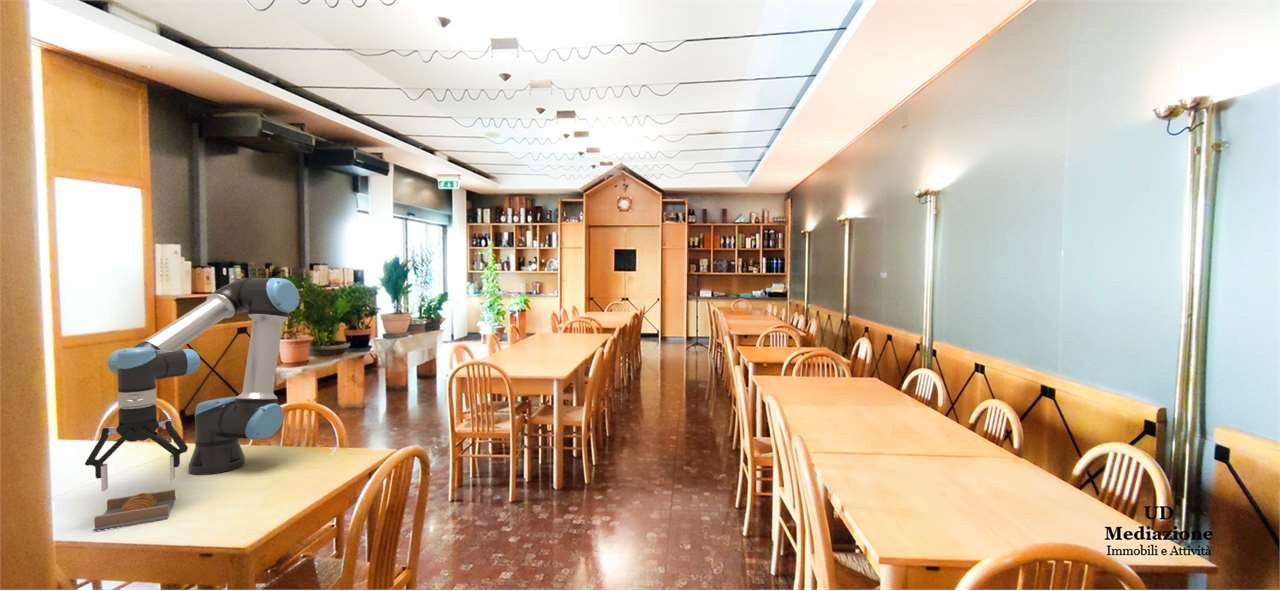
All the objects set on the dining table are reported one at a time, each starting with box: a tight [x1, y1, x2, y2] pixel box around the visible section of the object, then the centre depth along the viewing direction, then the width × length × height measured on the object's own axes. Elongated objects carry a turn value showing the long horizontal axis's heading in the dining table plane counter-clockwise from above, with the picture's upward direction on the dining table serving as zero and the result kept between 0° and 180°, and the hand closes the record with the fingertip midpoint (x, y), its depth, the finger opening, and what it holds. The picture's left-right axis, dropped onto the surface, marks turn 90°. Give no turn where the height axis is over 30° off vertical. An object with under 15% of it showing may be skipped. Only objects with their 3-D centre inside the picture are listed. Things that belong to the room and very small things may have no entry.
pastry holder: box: [92, 488, 177, 532], centre depth 147 cm, size 14×17×3 cm
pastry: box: [121, 492, 157, 512], centre depth 147 cm, size 9×7×4 cm
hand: (139, 484), depth 147 cm, fingers open, 13 cm apart
